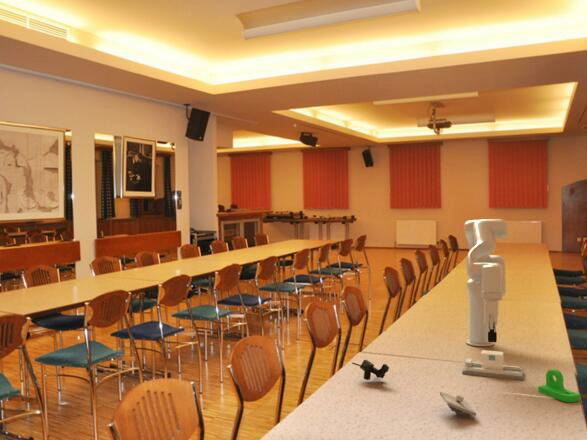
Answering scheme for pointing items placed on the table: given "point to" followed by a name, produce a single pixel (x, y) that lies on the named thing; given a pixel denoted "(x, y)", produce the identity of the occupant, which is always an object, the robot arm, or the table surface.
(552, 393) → the mechanical part
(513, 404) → the table surface
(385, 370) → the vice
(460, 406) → the light switch
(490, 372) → the rail plate
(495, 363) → the block
